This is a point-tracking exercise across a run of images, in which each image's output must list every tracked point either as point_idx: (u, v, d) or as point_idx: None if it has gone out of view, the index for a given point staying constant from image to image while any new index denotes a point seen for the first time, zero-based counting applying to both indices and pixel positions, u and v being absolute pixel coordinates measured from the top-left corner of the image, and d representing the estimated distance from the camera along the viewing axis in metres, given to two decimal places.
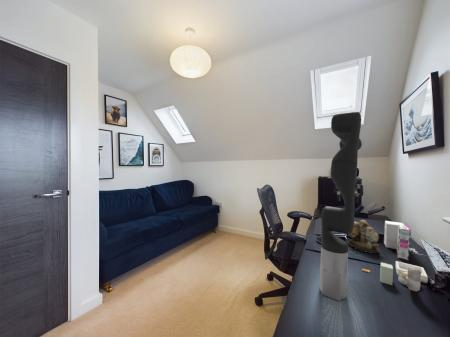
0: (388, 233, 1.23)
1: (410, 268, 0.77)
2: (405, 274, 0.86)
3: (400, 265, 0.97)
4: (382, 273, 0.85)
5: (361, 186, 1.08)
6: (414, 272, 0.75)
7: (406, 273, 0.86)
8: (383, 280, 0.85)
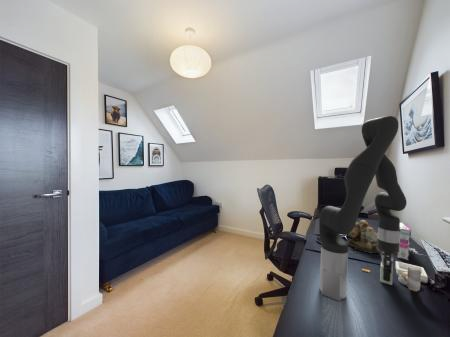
0: None
1: (410, 268, 0.77)
2: (405, 274, 0.86)
3: (400, 265, 0.97)
4: (382, 273, 0.85)
5: None
6: (414, 272, 0.75)
7: (406, 273, 0.86)
8: (383, 280, 0.85)
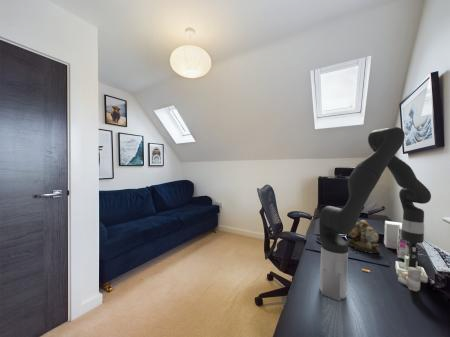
0: (388, 233, 1.23)
1: (410, 268, 0.77)
2: (405, 274, 0.86)
3: (400, 265, 0.97)
4: (407, 265, 0.91)
5: None
6: (414, 272, 0.75)
7: (406, 273, 0.86)
8: None
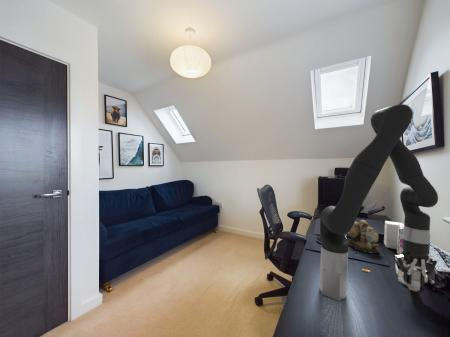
0: (388, 233, 1.23)
1: None
2: None
3: None
4: None
5: None
6: (414, 272, 0.75)
7: None
8: None
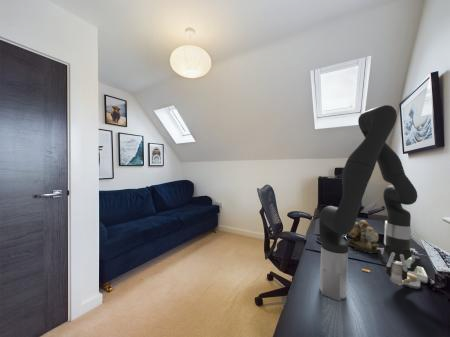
0: None
1: (393, 262, 0.81)
2: None
3: None
4: (407, 265, 0.91)
5: None
6: (394, 265, 0.79)
7: (408, 273, 0.86)
8: None
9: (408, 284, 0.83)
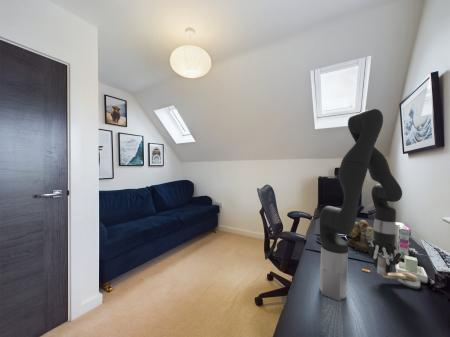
0: None
1: (381, 256, 0.87)
2: (405, 273, 0.86)
3: (400, 265, 0.97)
4: (407, 265, 0.91)
5: None
6: (378, 258, 0.86)
7: (410, 274, 0.86)
8: None
9: (408, 284, 0.83)
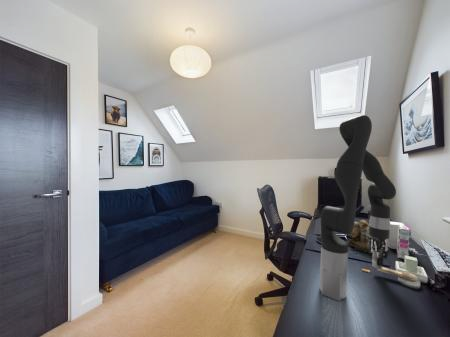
0: None
1: None
2: (407, 273, 0.86)
3: (400, 265, 0.97)
4: (407, 265, 0.91)
5: None
6: None
7: (412, 275, 0.85)
8: None
9: (408, 284, 0.83)
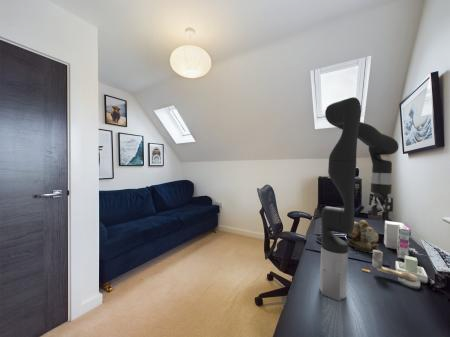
0: (388, 233, 1.23)
1: (377, 250, 0.92)
2: (407, 273, 0.86)
3: (400, 265, 0.97)
4: (407, 265, 0.91)
5: None
6: None
7: (412, 275, 0.85)
8: None
9: (408, 284, 0.83)
